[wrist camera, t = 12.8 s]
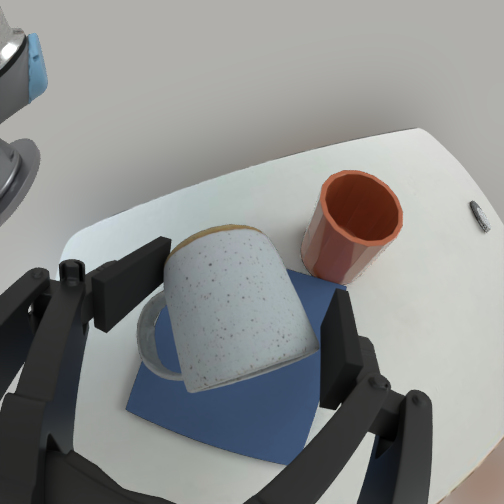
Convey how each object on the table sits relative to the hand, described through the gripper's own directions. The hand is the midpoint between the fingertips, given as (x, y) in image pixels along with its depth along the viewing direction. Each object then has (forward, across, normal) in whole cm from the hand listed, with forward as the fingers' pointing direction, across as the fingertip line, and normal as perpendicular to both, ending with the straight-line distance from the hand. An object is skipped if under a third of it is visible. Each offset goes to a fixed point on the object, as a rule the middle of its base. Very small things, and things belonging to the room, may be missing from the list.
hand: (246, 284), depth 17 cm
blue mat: (+8, 0, -12) cm, 14 cm away
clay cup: (+17, +7, -2) cm, 19 cm away
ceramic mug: (+1, -1, -5) cm, 5 cm away
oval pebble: (+28, +32, +9) cm, 44 cm away
